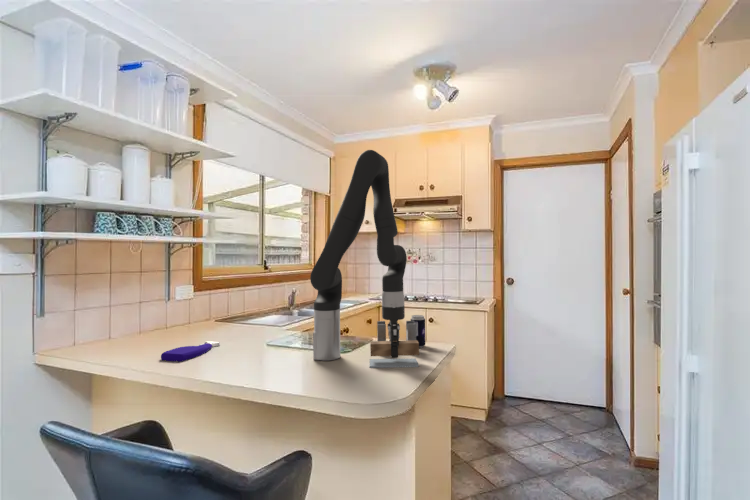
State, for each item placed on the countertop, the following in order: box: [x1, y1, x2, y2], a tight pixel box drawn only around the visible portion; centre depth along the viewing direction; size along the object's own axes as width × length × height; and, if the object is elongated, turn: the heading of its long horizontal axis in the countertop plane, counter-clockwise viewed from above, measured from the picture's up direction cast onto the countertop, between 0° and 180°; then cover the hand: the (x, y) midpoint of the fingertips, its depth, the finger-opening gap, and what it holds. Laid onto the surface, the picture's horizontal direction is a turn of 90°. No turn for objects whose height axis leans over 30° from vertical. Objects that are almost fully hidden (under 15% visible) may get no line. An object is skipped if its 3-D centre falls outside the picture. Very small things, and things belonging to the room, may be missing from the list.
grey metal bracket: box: [376, 320, 387, 341], centre depth 150 cm, size 5×8×11 cm, turn 1°
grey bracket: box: [405, 320, 416, 341], centre depth 150 cm, size 5×8×11 cm, turn 1°
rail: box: [369, 340, 420, 357], centre depth 135 cm, size 16×4×4 cm, turn 91°
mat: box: [369, 357, 420, 369], centre depth 135 cm, size 16×8×1 cm, turn 91°
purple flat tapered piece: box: [160, 340, 221, 363], centre depth 153 cm, size 3×11×24 cm
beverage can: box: [410, 314, 426, 349], centre depth 158 cm, size 6×6×12 cm
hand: (394, 355), depth 135 cm, fingers closed on rail, 4 cm apart
